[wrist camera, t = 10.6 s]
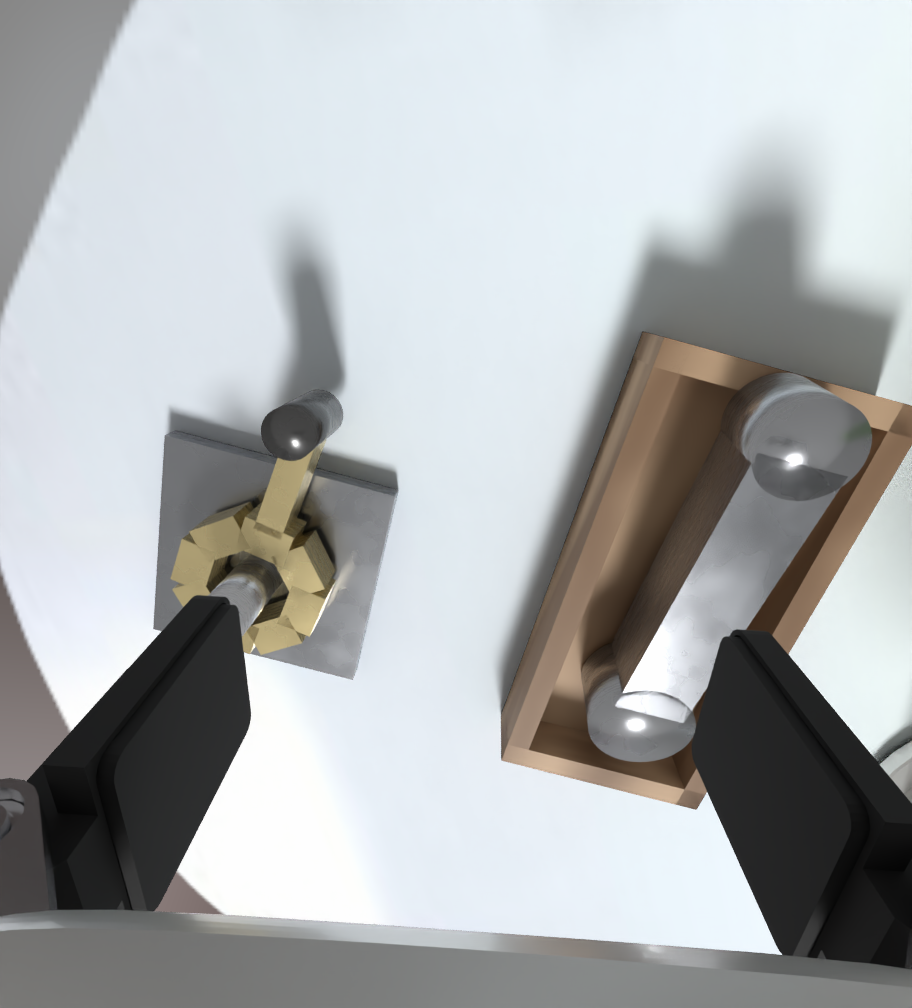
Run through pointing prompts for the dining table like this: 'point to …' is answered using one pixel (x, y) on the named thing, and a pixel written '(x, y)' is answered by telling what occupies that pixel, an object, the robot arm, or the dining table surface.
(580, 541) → the tray
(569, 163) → the dining table surface
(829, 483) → the silver dumbbell
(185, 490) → the nut base
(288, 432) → the ring nut
